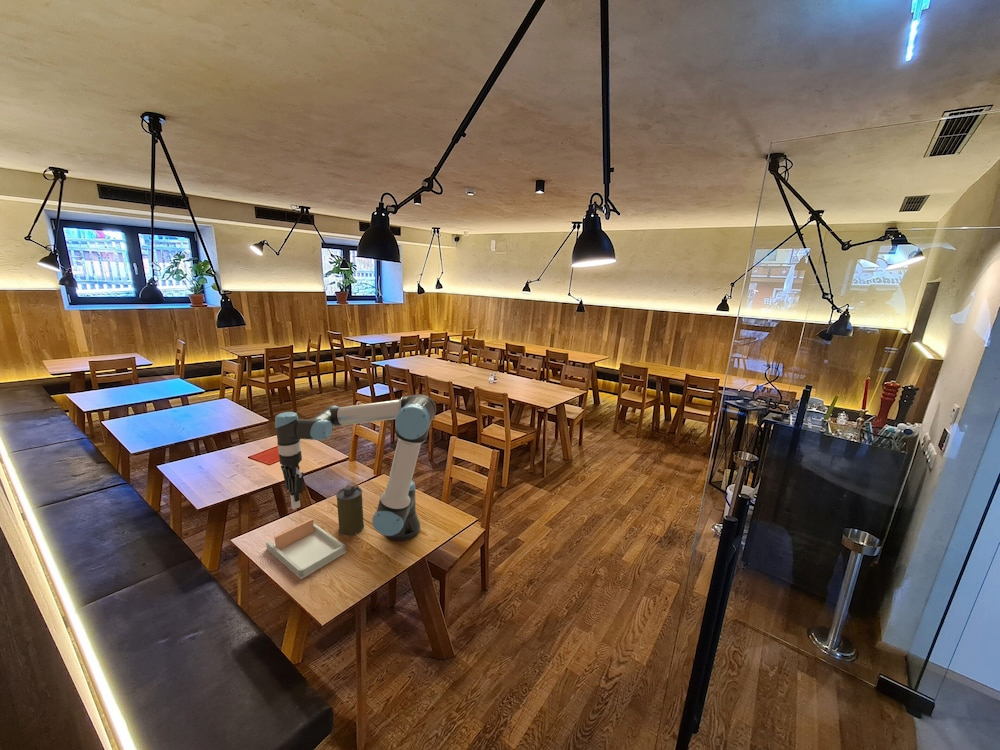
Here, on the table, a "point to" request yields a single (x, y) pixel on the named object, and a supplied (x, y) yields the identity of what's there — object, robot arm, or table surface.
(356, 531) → the canister
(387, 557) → the table surface
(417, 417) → the robot arm
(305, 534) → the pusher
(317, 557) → the white tray
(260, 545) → the table surface
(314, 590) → the table surface
